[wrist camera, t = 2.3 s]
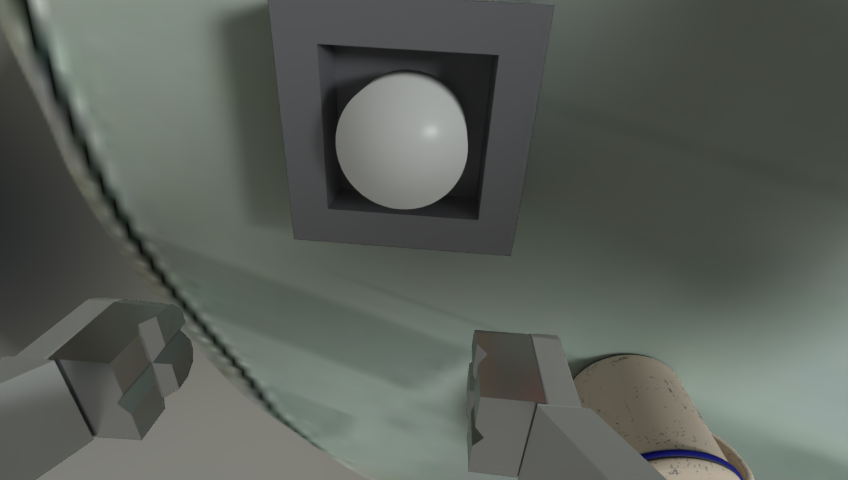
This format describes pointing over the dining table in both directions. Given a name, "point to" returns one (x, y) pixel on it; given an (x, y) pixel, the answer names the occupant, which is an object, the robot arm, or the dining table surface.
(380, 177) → the push dome
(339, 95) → the dome housing
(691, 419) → the teacup with lid
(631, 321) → the dining table surface
